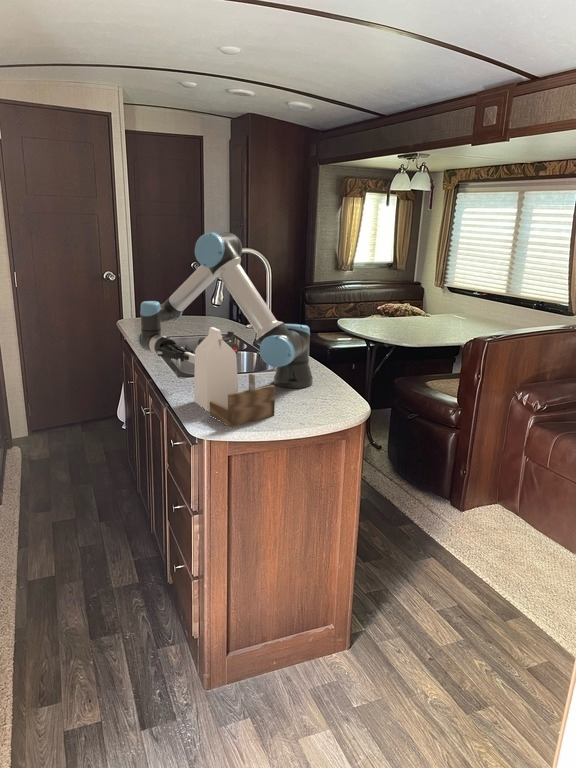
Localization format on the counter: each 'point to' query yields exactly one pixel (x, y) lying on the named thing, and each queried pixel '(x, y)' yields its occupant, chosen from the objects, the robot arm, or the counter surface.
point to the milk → (214, 371)
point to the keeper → (246, 405)
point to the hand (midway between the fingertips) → (195, 359)
